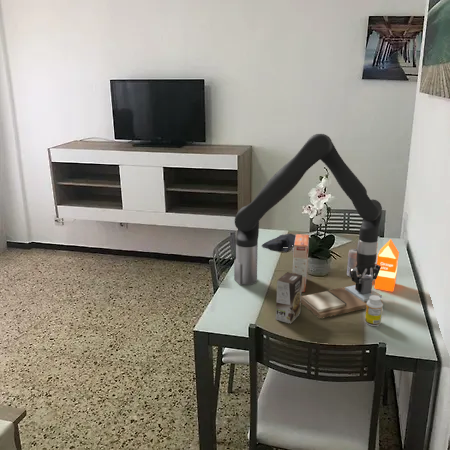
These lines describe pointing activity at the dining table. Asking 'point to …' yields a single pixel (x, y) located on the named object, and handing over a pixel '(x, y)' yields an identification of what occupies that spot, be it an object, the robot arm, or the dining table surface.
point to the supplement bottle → (373, 311)
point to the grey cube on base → (363, 290)
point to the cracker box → (301, 257)
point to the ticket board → (332, 302)
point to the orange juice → (387, 267)
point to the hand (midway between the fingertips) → (363, 290)
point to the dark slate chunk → (280, 243)
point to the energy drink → (351, 260)
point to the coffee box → (288, 297)
